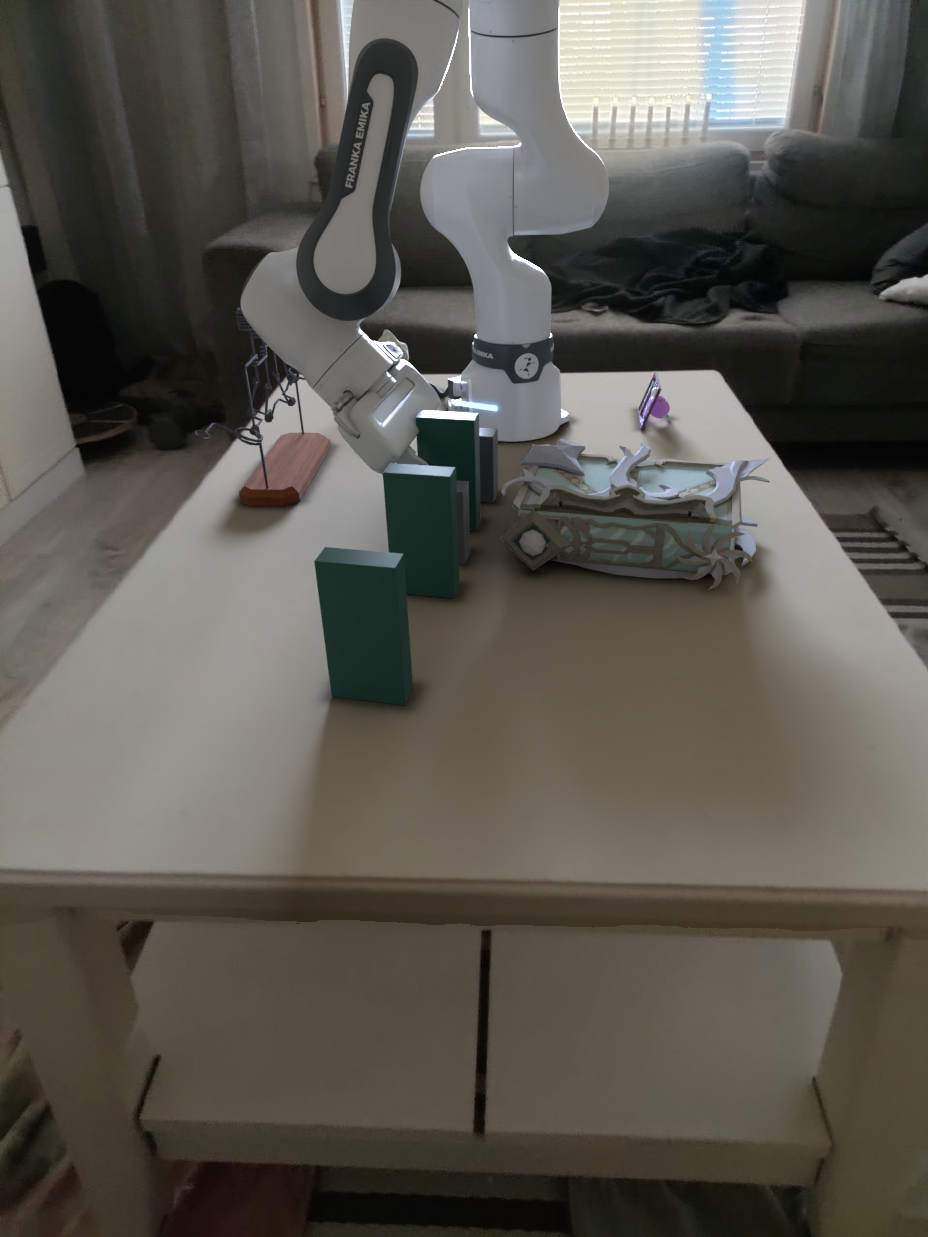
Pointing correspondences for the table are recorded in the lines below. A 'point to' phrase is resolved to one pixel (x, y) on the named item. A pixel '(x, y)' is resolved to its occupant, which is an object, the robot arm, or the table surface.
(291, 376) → the figure sculpture
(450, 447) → the green book
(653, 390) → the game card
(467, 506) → the grey books
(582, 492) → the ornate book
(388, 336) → the chocolate bunny
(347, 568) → the green books
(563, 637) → the table surface
